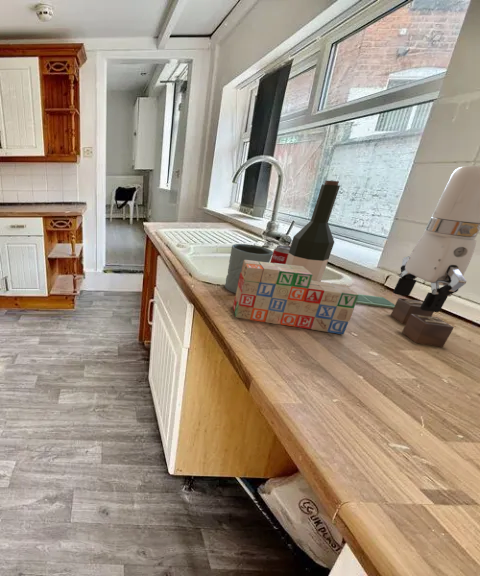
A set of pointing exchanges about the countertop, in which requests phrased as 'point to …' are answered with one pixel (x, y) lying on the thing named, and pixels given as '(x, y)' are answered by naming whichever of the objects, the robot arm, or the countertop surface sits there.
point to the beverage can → (280, 254)
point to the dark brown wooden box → (427, 330)
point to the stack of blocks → (292, 298)
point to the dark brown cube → (408, 309)
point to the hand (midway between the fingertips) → (414, 301)
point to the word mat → (374, 301)
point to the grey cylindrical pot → (237, 259)
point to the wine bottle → (315, 235)
